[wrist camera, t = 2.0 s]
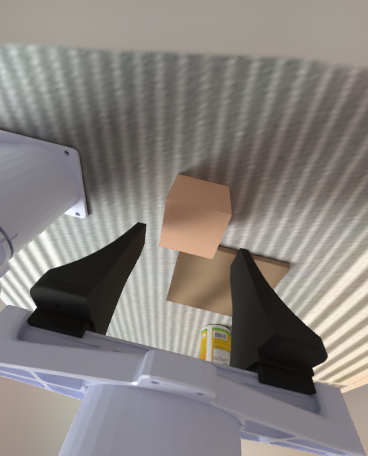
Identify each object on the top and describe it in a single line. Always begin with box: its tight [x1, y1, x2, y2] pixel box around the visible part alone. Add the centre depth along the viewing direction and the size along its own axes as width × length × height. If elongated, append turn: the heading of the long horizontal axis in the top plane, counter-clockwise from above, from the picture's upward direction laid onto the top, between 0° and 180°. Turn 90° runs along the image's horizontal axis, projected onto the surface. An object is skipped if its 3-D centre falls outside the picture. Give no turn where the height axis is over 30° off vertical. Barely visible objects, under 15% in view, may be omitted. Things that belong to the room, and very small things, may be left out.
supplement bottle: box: [200, 324, 231, 366], centre depth 32 cm, size 5×5×10 cm
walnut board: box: [166, 246, 290, 316], centre depth 26 cm, size 13×13×1 cm
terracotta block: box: [159, 174, 232, 259], centre depth 18 cm, size 5×5×5 cm
